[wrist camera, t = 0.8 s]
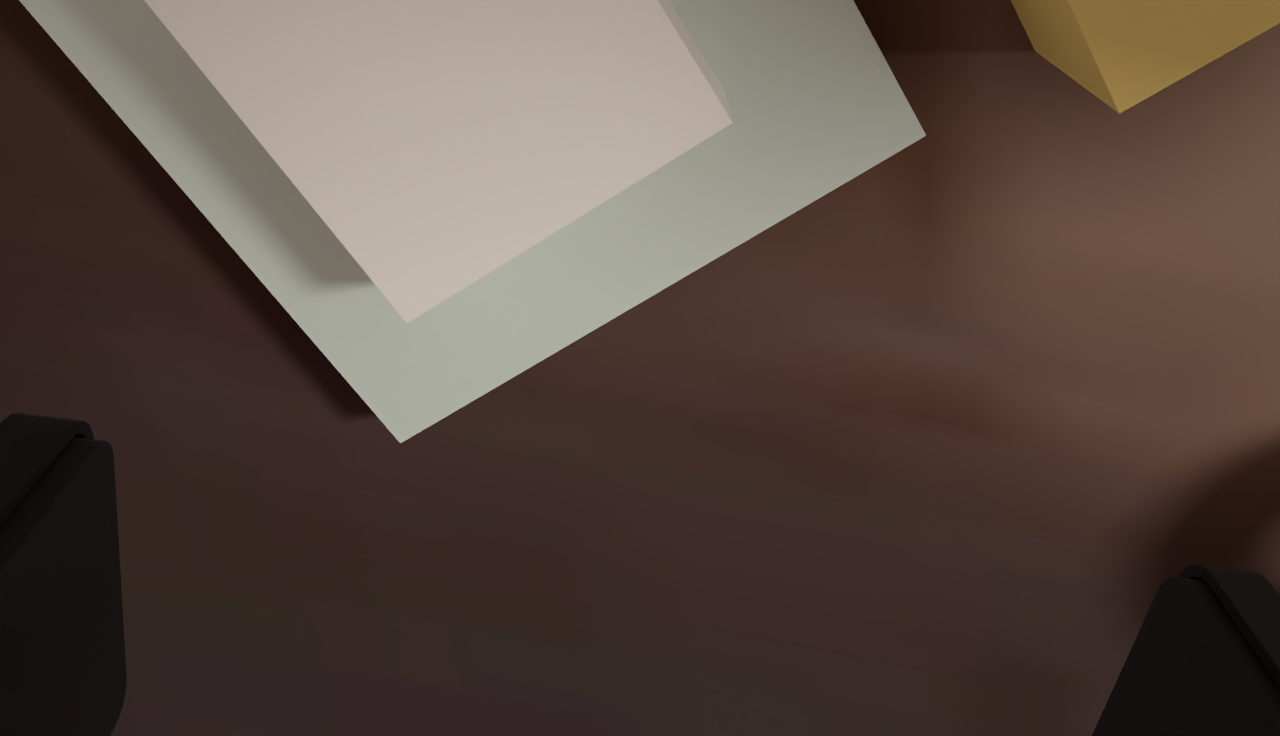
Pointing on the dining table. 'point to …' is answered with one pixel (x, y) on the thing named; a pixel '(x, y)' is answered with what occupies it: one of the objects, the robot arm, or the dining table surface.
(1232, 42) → the mustard block
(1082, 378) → the dining table surface
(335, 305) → the base
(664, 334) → the dining table surface
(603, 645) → the dining table surface
